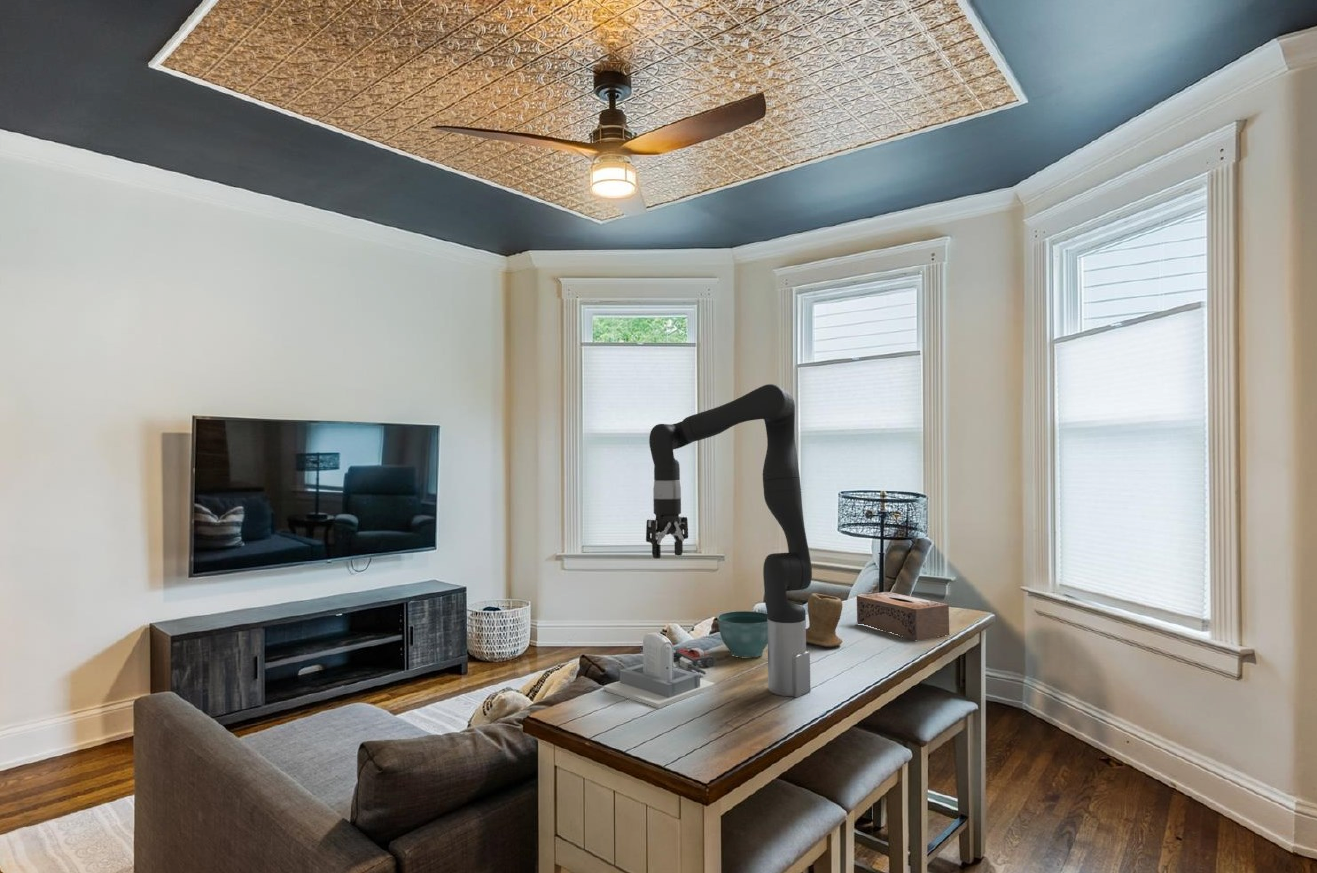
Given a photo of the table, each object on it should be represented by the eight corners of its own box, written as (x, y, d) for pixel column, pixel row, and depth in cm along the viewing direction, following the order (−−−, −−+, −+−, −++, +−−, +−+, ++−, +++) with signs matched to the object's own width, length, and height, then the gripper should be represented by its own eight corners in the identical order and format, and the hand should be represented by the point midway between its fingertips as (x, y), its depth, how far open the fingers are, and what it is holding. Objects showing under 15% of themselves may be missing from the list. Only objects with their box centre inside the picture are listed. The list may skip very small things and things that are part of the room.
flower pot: (748, 666, 190) (747, 625, 191) (706, 654, 202) (705, 616, 203) (785, 654, 201) (785, 616, 201) (743, 644, 213) (743, 608, 213)
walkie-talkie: (665, 660, 198) (701, 679, 180) (665, 644, 198) (700, 662, 180) (692, 656, 202) (729, 674, 184) (692, 640, 202) (729, 657, 184)
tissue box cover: (949, 636, 221) (948, 604, 221) (917, 642, 214) (916, 609, 215) (888, 620, 244) (887, 591, 244) (857, 625, 237) (856, 595, 238)
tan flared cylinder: (851, 644, 211) (850, 595, 212) (827, 651, 203) (826, 600, 204) (811, 635, 223) (810, 588, 223) (787, 641, 215) (786, 593, 216)
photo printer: (676, 688, 168) (675, 636, 169) (660, 691, 166) (660, 639, 167) (655, 677, 177) (655, 628, 178) (640, 680, 175) (640, 630, 176)
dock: (715, 687, 172) (715, 671, 172) (658, 708, 158) (658, 690, 158) (660, 672, 185) (659, 656, 185) (603, 690, 171) (603, 673, 171)
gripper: (658, 498, 183) (659, 560, 182) (694, 496, 193) (695, 555, 192) (638, 497, 188) (639, 558, 187) (674, 495, 198) (675, 553, 197)
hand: (667, 556), depth 190 cm, fingers open, 8 cm apart
